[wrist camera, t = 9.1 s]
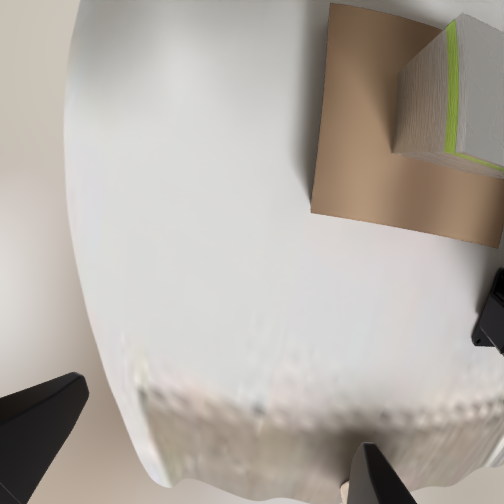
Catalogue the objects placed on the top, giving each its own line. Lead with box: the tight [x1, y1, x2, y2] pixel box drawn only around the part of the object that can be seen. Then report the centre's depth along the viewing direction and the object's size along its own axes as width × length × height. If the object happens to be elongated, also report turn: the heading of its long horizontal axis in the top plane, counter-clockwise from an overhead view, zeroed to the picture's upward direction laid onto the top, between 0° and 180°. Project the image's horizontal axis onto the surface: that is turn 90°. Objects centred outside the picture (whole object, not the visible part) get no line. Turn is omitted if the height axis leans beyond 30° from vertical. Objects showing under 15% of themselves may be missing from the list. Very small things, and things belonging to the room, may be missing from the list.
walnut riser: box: [311, 3, 504, 248], centre depth 14 cm, size 12×12×3 cm
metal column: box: [392, 13, 504, 179], centre depth 9 cm, size 4×4×8 cm
